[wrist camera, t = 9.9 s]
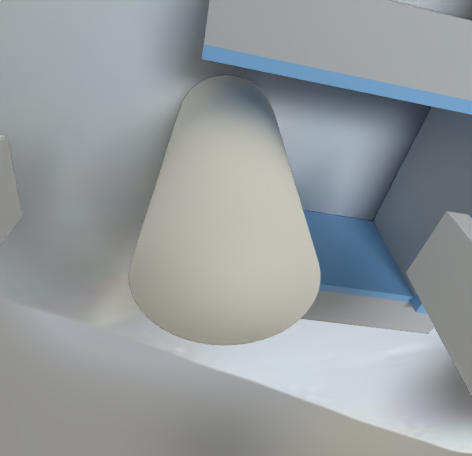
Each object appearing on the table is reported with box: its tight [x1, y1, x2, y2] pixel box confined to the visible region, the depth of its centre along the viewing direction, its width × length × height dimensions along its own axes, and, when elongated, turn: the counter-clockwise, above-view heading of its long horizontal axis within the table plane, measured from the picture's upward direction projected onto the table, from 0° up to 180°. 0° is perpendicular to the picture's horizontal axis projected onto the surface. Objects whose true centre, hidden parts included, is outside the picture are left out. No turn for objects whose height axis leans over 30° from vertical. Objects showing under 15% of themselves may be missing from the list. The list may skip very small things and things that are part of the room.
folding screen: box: [202, 0, 472, 334], centre depth 13 cm, size 24×13×7 cm, turn 169°
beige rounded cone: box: [129, 75, 320, 345], centre depth 14 cm, size 5×5×11 cm
